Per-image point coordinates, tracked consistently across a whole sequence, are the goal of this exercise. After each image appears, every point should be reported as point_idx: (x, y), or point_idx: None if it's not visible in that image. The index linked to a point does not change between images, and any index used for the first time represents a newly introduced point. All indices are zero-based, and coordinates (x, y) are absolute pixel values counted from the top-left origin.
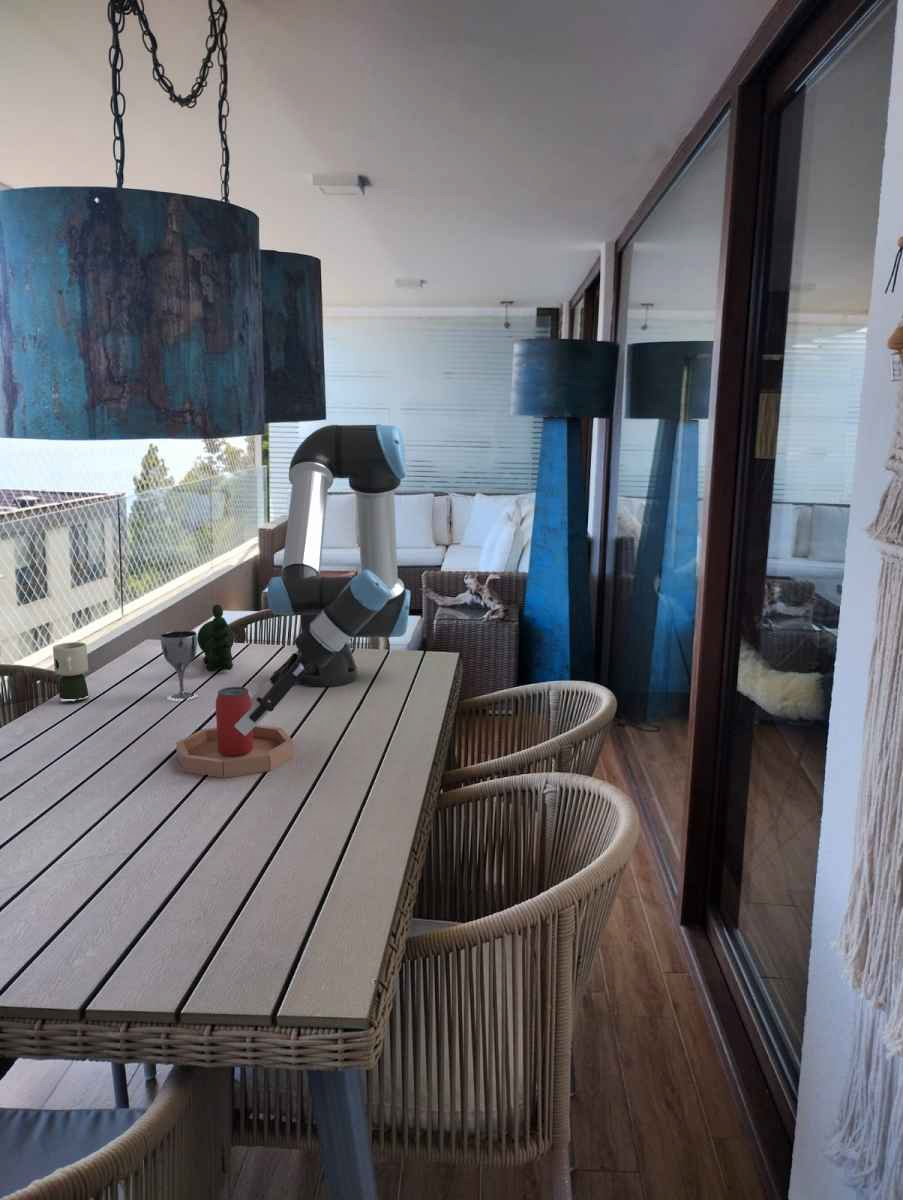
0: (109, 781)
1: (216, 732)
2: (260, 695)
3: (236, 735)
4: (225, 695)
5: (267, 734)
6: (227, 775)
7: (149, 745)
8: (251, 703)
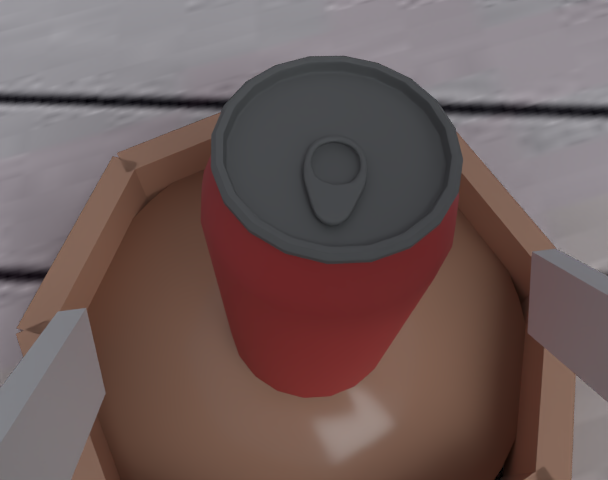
0: (72, 23)
1: (462, 186)
2: (605, 330)
3: (227, 315)
4: (217, 125)
5: (524, 415)
6: None
7: (389, 27)
8: (549, 286)
